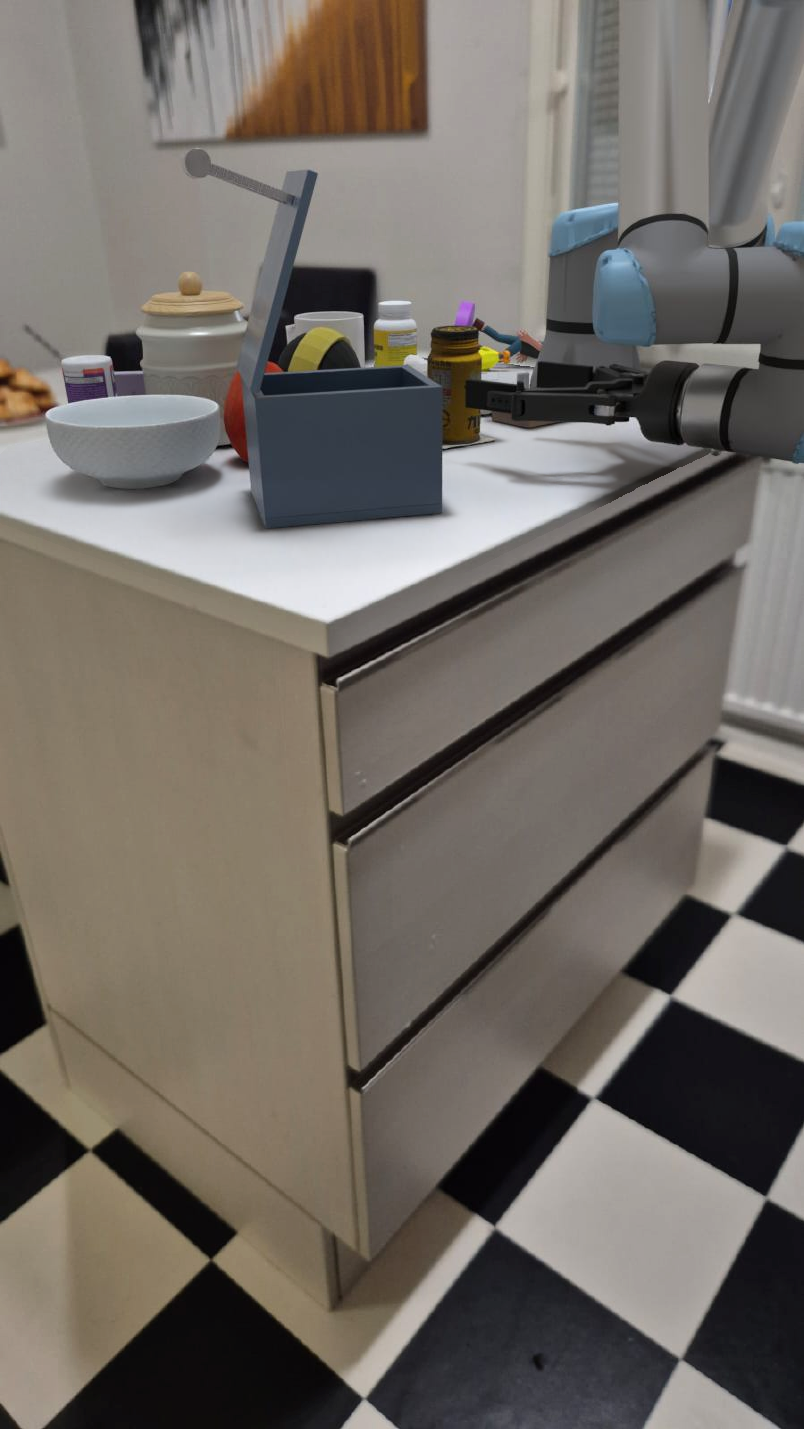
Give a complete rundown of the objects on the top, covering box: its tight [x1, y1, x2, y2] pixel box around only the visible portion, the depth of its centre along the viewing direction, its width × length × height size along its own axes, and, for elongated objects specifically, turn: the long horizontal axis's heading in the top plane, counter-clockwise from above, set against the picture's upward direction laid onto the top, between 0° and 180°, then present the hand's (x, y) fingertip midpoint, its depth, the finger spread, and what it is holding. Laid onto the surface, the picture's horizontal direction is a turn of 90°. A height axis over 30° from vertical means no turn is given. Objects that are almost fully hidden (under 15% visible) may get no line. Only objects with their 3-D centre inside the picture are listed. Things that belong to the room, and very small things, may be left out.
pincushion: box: [404, 354, 427, 377], centre depth 131 cm, size 12×6×6 cm
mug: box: [284, 310, 366, 368], centre depth 130 cm, size 12×9×11 cm
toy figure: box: [479, 346, 511, 372], centre depth 151 cm, size 7×4×12 cm
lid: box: [181, 147, 319, 393], centre depth 80 cm, size 17×12×9 cm
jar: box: [135, 271, 248, 447], centre depth 112 cm, size 13×13×18 cm
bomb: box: [277, 327, 361, 372], centre depth 119 cm, size 11×11×15 cm
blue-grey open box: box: [241, 365, 443, 530], centre depth 89 cm, size 16×12×11 cm
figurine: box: [453, 300, 544, 364], centre depth 155 cm, size 9×9×18 cm
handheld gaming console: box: [480, 370, 530, 415], centre depth 130 cm, size 11×3×15 cm
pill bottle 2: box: [373, 300, 418, 367], centre depth 142 cm, size 6×6×11 cm
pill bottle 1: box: [60, 354, 118, 404], centre depth 110 cm, size 5×5×10 cm
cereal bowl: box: [44, 395, 221, 490], centre depth 98 cm, size 17×17×7 cm
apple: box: [223, 360, 283, 464], centre depth 104 cm, size 8×8×11 cm
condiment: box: [426, 325, 496, 450], centre depth 110 cm, size 7×8×12 cm
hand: (504, 383), depth 105 cm, fingers open, 13 cm apart
